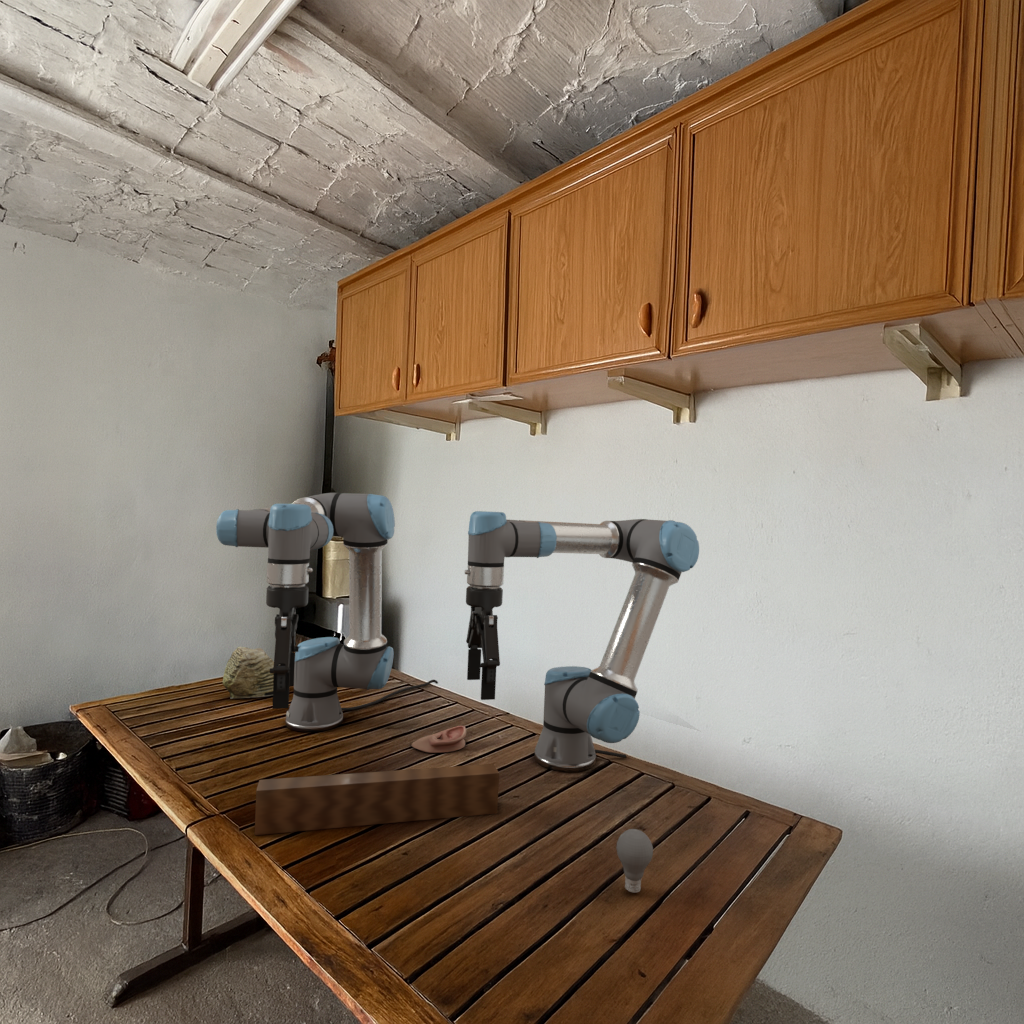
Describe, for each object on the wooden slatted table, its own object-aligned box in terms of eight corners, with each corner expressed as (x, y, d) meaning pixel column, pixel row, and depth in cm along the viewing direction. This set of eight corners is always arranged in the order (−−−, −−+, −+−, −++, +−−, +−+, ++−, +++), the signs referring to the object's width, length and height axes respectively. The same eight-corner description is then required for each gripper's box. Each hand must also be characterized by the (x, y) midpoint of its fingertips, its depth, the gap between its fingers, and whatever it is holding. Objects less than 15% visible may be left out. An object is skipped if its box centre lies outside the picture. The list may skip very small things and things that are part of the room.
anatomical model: (407, 734, 160) (423, 719, 171) (406, 749, 160) (422, 733, 171) (458, 740, 157) (470, 724, 168) (457, 756, 157) (469, 739, 168)
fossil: (218, 695, 195) (220, 647, 195) (278, 685, 208) (279, 640, 207) (228, 703, 189) (230, 653, 188) (289, 692, 201) (290, 645, 201)
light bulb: (610, 879, 108) (613, 822, 108) (644, 879, 109) (647, 822, 109) (619, 902, 102) (622, 840, 102) (655, 901, 103) (658, 840, 103)
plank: (254, 835, 118) (256, 790, 118) (257, 822, 122) (259, 779, 122) (497, 813, 130) (499, 773, 130) (492, 802, 135) (493, 763, 134)
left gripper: (305, 595, 109) (300, 717, 109) (311, 576, 133) (307, 677, 133) (258, 595, 107) (254, 719, 107) (273, 576, 131) (269, 678, 131)
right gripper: (455, 578, 141) (451, 672, 142) (479, 595, 117) (475, 709, 118) (488, 578, 143) (484, 671, 144) (518, 595, 119) (513, 707, 120)
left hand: (283, 696), depth 120 cm, fingers open, 13 cm apart
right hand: (480, 689), depth 131 cm, fingers open, 13 cm apart
